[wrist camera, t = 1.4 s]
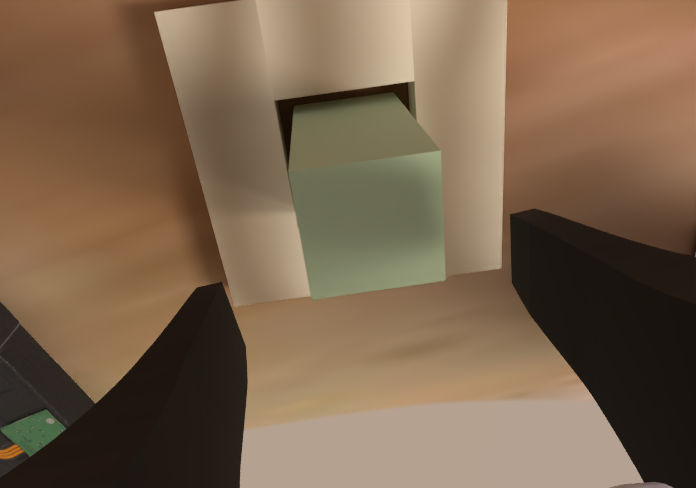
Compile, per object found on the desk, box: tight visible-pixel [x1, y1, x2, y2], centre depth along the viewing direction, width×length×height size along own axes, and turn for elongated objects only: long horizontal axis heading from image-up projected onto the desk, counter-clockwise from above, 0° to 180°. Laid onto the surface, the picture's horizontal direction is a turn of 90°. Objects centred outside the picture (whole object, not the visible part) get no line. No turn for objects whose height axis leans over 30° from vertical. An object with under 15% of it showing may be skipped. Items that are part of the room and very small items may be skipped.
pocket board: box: [154, 0, 507, 307], centre depth 21 cm, size 12×12×2 cm
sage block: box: [288, 92, 446, 300], centre depth 18 cm, size 4×4×8 cm
